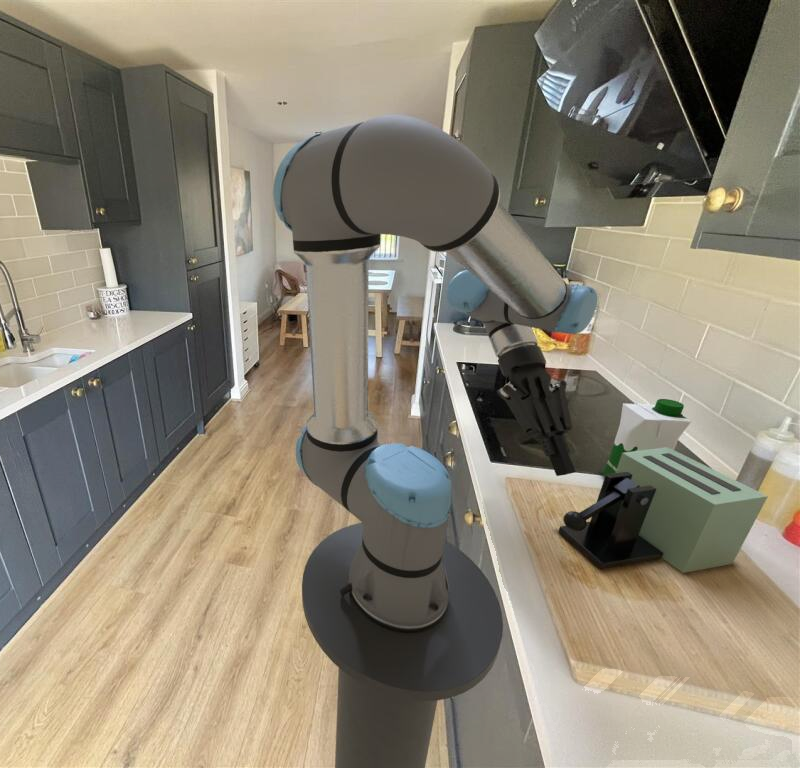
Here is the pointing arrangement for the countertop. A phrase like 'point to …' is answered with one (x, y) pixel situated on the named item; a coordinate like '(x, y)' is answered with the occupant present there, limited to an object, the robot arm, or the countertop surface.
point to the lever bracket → (616, 528)
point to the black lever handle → (598, 506)
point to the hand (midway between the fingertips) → (566, 473)
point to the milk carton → (647, 429)
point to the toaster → (692, 508)
